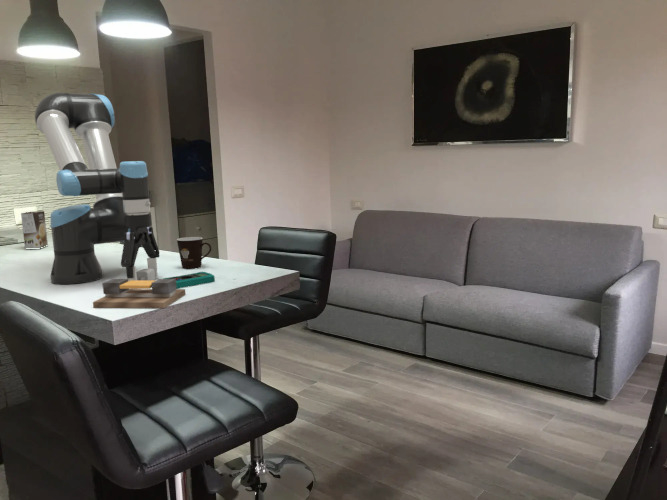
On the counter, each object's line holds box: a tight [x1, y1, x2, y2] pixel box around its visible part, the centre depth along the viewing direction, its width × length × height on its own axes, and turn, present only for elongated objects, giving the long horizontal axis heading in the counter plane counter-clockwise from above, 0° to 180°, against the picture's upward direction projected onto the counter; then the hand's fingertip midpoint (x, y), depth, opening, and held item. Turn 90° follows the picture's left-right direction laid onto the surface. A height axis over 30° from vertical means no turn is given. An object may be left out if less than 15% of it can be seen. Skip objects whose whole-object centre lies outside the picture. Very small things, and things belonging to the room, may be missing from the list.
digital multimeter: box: [162, 271, 215, 289], centre depth 166 cm, size 7×15×3 cm, turn 131°
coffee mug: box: [176, 236, 212, 270], centre depth 190 cm, size 12×9×10 cm
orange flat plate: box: [119, 279, 156, 289], centre depth 146 cm, size 8×6×1 cm
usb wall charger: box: [136, 268, 156, 280], centre depth 168 cm, size 4×7×4 cm, turn 171°
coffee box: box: [20, 210, 49, 249], centre depth 243 cm, size 9×6×16 cm
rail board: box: [92, 278, 186, 309], centre depth 147 cm, size 19×14×6 cm
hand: (143, 283), depth 167 cm, fingers open, 13 cm apart
